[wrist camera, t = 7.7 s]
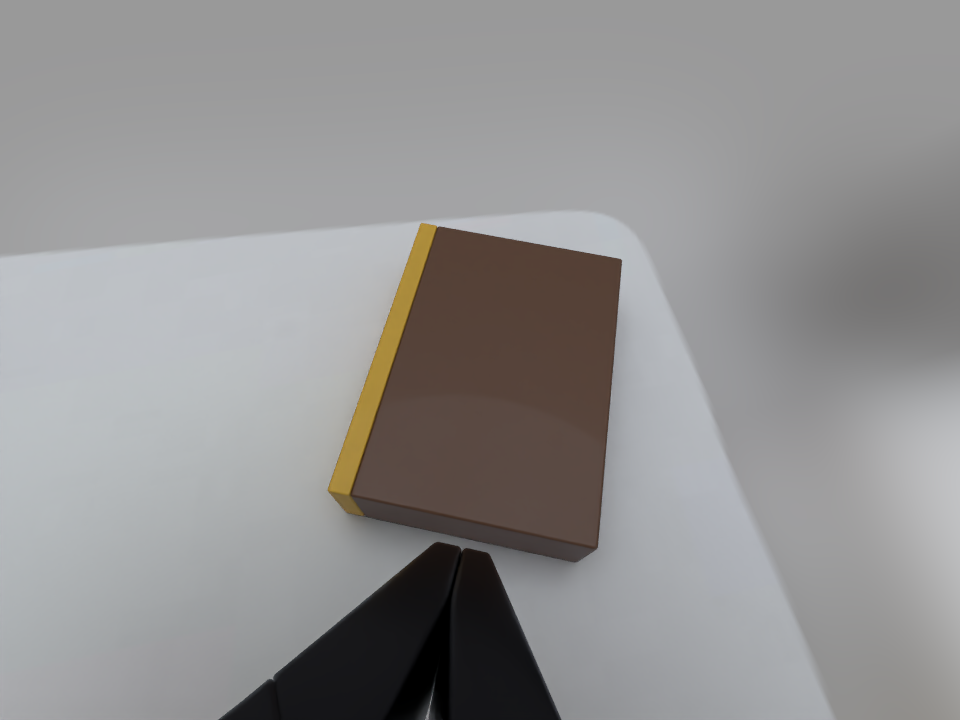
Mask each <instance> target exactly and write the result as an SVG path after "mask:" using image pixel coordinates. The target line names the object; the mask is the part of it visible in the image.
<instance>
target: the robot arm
mask: <svg viewBox="0 0 960 720" xmlns="http://www.w3.org/2000/svg"><path fill="white" fill-rule="evenodd" d="M434 683H435V684H434ZM433 688H434V689H433ZM432 692H433V694H432ZM431 696H432V700H431ZM430 700H431V705H430V711H429V719H428V720H561V718H560V716H559V713H558V711H557V709H556V706H555V704H554V702H553V699H552V697H551V695H550V693H549V690H548V688H547V686H546V683H545V681H544V679H543V676H542V674H541V672H540V669H539V667H538V665H537V662H536V660H535V658H534V656H533V653H532V651H531V649H530V646H529V644H528V642H527V639H526V637H525V635H524V632H523V630H522V628H521V626H520V623H519V621H518V619H517V616H516V614H515V612H514V609H513V607H512V605H511V602H510V600H509V598H508V595H507V593H506V591H505V589H504V586H503V584H502V582H501V579H500V577H499V575H498V572H497V570H496V568H495V565H494V563H493V561H492V559H491V556H490V555H489V554H488V553H486V552H482V551H477V550H473V549H468V548H466V549H464V550H463V551H462V553H461V548H460V547H458V546H455V545H450V544H446V543H441V542H436V543H434V544H432V545H431V546H430V547H429V548H428V549H426V550H425V551H424V552H423V553H422V554H420V555H419V556H418V557H417V558H416V559H414V560H413V561H412V562H411V563H409V564H408V565H407V566H406V567H405V568H403V569H402V570H401V571H400V572H399V573H397V574H396V575H395V576H394V577H392V578H391V579H390V580H389V581H388V582H386V583H385V584H384V585H383V586H382V587H380V588H379V589H378V590H377V591H375V592H374V593H373V594H372V595H371V596H369V597H368V598H367V599H366V600H365V601H363V602H362V603H361V604H360V605H359V606H357V607H356V608H355V609H354V610H352V611H351V612H350V613H349V614H348V615H346V616H345V617H344V618H343V619H342V620H340V621H339V622H338V623H337V624H335V625H334V626H333V627H332V628H331V629H329V630H328V631H327V632H326V633H325V634H323V635H322V636H321V637H320V638H318V639H317V640H316V641H315V642H314V643H312V644H311V645H310V646H309V647H308V648H306V649H305V650H304V651H303V652H302V653H300V654H299V655H298V656H297V657H295V658H294V659H293V660H292V661H291V662H289V663H288V664H287V665H286V666H285V667H283V668H282V669H281V670H280V671H278V672H277V673H276V674H275V675H274V677H273V680H272V679H269V680H267V681H266V682H265V683H263V684H262V685H261V686H260V687H259V688H257V689H256V690H255V691H254V692H253V693H251V694H250V695H249V696H248V697H246V698H245V699H244V700H243V701H242V702H240V703H239V704H238V705H236V706H235V707H234V708H233V709H231V710H230V711H229V712H227V713H226V714H225V715H224V716H222V717H221V718H220V719H219V720H425V718H426V715H427V712H428V708H429V704H430Z"/></svg>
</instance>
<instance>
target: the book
mask: <svg viewBox="0 0 960 720" xmlns="http://www.w3.org/2000/svg"><path fill="white" fill-rule="evenodd" d="M621 266H622V260H621V259H618V258H612V257H607V256H601V255H595V254H590V253H584V252H579V251H573V250H568V249H562V248H556V247H551V246H545V245H540V244H534V243H529V242H523V241H517V240H512V239H506V238H501V237H495V236H489V235H484V234H478V233H473V232H467V231H462V230H456V229H450V228H445V227H438V228H437V226H435V225H430V224H424V223H421V224H420V227H419V230H418V233H417V236H416V238H415V241H414V244H413V247H412V250H411V253H410V256H409V258H408V261H407V264H406V267H405V270H404V273H403V276H402V278H401V281H400V284H399V287H398V290H397V293H396V296H395V298H394V301H393V304H392V307H391V310H390V313H389V316H388V318H387V321H386V324H385V327H384V330H383V333H382V336H381V338H380V341H379V344H378V347H377V350H376V353H375V356H374V359H373V361H372V364H371V367H370V370H369V373H368V376H367V379H366V381H365V384H364V387H363V390H362V393H361V396H360V399H359V401H358V404H357V407H356V410H355V413H354V416H353V419H352V421H351V424H350V427H349V430H348V433H347V436H346V439H345V441H344V444H343V447H342V450H341V453H340V456H339V459H338V461H337V464H336V467H335V470H334V473H333V476H332V479H331V481H330V484H329V487H328V492H329V493H330V494H331V495H332V497H333V498H334V499H335V500H336V501H337V502H338V503H339V505H340V506H341V507H342V508H343V509H344V510H345V512H347V513H351V514H355V515H360V516H364V515H365V516H366V517H370V518H374V519H379V520H384V521H388V522H393V523H397V524H402V525H406V526H411V527H416V528H420V529H425V530H429V531H434V532H439V533H443V534H448V535H452V536H457V537H461V538H466V539H471V540H475V541H480V542H484V543H489V544H493V545H498V546H503V547H507V548H512V549H516V550H521V551H526V552H530V553H535V554H539V555H544V556H548V557H553V558H558V559H562V560H567V561H571V562H578V561H580V560H581V559H583V558H584V557H586V556H587V555H589V554H590V553H592V552H593V551H595V550H596V549H597V548H598V539H599V527H600V515H601V503H602V491H603V480H604V468H605V456H606V444H607V432H608V420H609V408H610V397H611V385H612V373H613V361H614V349H615V337H616V325H617V313H618V302H619V290H620V278H621Z"/></svg>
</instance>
